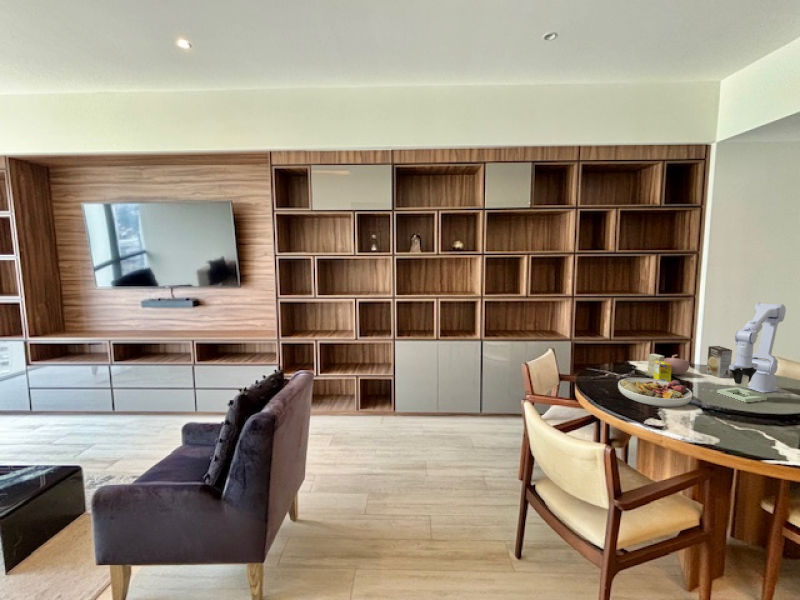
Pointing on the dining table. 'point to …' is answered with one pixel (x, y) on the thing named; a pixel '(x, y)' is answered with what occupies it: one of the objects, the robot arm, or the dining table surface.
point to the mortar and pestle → (677, 365)
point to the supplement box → (662, 371)
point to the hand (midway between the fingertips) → (742, 382)
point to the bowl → (655, 392)
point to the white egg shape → (743, 381)
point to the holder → (751, 395)
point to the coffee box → (719, 361)
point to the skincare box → (651, 362)
